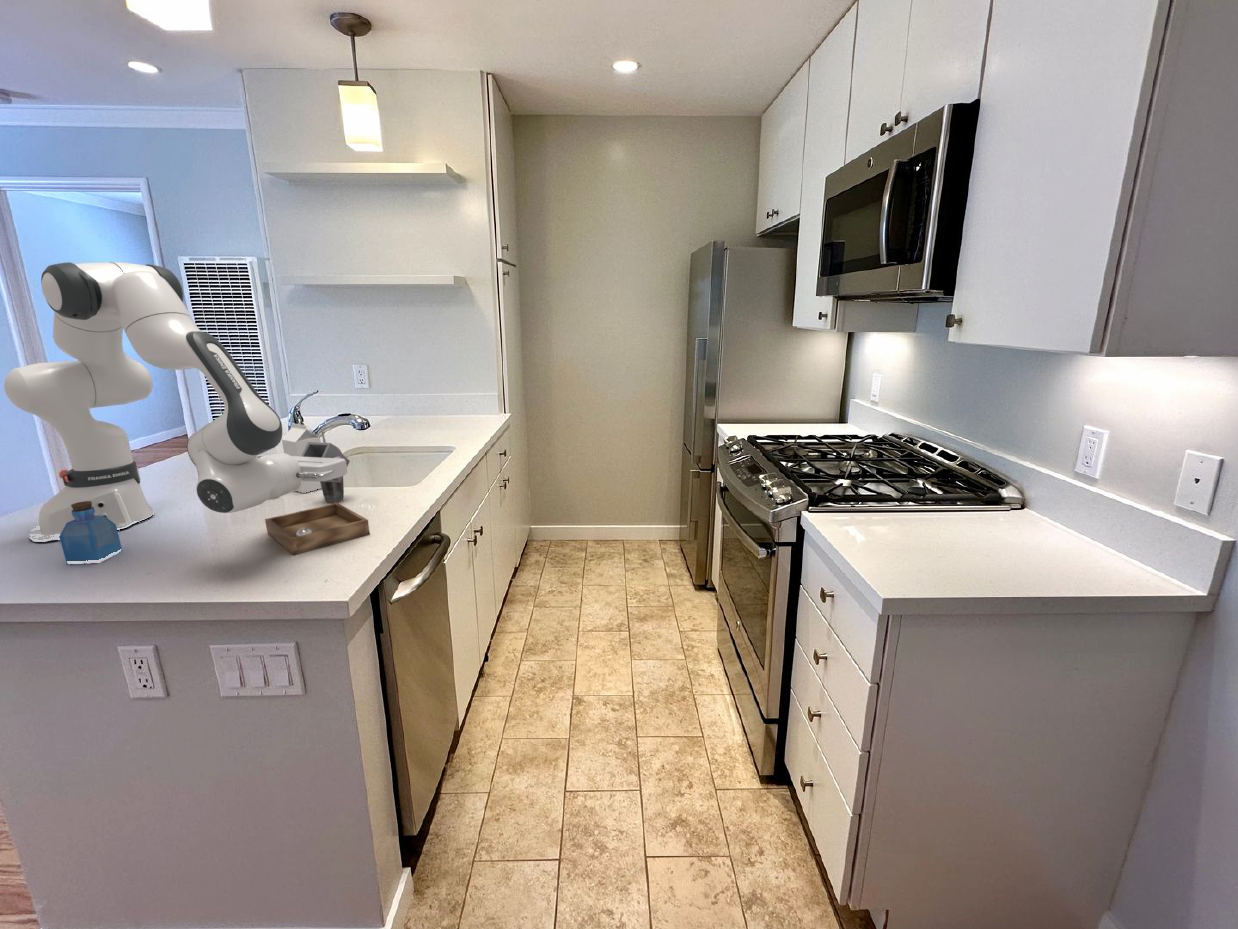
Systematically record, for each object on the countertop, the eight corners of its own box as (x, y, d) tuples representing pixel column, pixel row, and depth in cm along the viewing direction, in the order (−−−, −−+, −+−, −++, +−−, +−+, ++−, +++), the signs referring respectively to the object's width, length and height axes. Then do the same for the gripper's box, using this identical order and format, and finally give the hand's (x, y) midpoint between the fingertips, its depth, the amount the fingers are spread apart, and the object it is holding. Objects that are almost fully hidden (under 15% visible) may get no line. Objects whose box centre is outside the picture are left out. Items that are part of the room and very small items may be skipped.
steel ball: (315, 536, 122) (318, 530, 126) (299, 529, 121) (302, 522, 124) (306, 549, 123) (309, 542, 126) (289, 542, 121) (293, 535, 124)
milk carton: (303, 494, 161) (293, 427, 157) (289, 490, 165) (279, 425, 160) (327, 487, 167) (318, 423, 162) (313, 484, 171) (304, 421, 166)
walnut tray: (293, 555, 120) (290, 539, 119) (267, 533, 132) (264, 519, 131) (369, 534, 131) (367, 519, 130) (339, 516, 143) (337, 502, 142)
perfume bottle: (91, 553, 122) (77, 499, 119) (122, 551, 123) (109, 498, 120) (67, 565, 116) (51, 509, 113) (99, 563, 117) (85, 508, 114)
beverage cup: (354, 496, 158) (345, 425, 153) (339, 505, 151) (329, 430, 146) (329, 496, 159) (319, 425, 154) (313, 504, 152) (302, 430, 147)
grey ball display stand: (340, 482, 136) (320, 465, 129) (318, 481, 137) (297, 464, 130) (349, 460, 139) (330, 442, 132) (328, 459, 140) (308, 441, 133)
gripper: (319, 462, 118) (361, 447, 131) (236, 457, 123) (285, 444, 136) (323, 491, 120) (365, 474, 133) (241, 486, 124) (289, 470, 137)
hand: (324, 459), depth 134 cm, fingers closed on grey ball display stand, 6 cm apart
